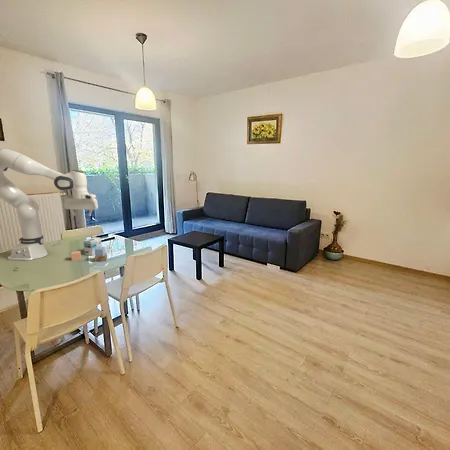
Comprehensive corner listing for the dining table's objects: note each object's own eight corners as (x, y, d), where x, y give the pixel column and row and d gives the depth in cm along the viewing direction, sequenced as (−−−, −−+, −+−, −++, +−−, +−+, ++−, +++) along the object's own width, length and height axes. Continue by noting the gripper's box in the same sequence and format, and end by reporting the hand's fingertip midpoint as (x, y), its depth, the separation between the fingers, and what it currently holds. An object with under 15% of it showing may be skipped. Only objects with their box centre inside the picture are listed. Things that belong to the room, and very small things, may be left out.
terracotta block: (71, 260, 172) (71, 254, 171) (72, 258, 177) (72, 251, 176) (80, 260, 174) (79, 253, 173) (81, 257, 179) (80, 250, 177)
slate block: (95, 256, 172) (94, 249, 171) (98, 253, 177) (97, 247, 176) (103, 256, 172) (102, 249, 171) (105, 253, 177) (105, 247, 176)
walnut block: (95, 262, 172) (94, 257, 171) (96, 258, 178) (95, 253, 177) (106, 261, 174) (105, 256, 173) (107, 257, 180) (106, 252, 179)
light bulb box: (92, 255, 182) (91, 241, 180) (84, 254, 183) (83, 240, 181) (102, 251, 192) (101, 237, 190) (94, 250, 194) (93, 236, 191)
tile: (94, 267, 164) (94, 266, 164) (97, 262, 170) (97, 262, 170) (105, 266, 165) (105, 265, 165) (108, 262, 171) (108, 261, 171)
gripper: (61, 195, 162) (63, 216, 165) (94, 196, 165) (96, 217, 168) (65, 194, 168) (67, 214, 172) (98, 195, 171) (99, 215, 174)
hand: (82, 215), depth 170 cm, fingers open, 8 cm apart
